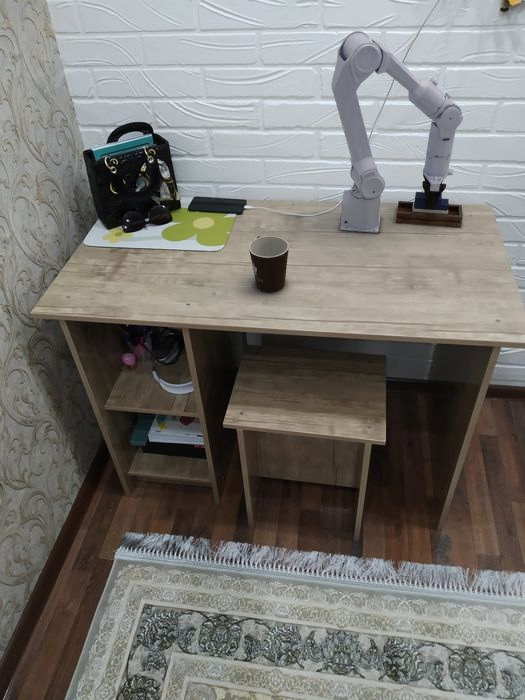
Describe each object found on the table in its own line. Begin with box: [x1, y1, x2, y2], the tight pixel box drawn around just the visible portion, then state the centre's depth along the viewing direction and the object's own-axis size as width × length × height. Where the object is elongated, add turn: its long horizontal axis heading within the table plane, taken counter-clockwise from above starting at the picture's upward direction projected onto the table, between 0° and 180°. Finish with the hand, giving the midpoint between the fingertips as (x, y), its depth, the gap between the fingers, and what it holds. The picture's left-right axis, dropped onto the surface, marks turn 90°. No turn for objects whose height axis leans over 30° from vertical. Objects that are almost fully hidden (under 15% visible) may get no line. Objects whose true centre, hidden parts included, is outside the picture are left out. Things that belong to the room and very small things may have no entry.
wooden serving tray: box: [395, 200, 463, 229], centre depth 147 cm, size 16×8×2 cm, turn 77°
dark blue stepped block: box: [412, 191, 450, 214], centre depth 145 cm, size 9×4×4 cm, turn 77°
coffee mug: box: [248, 235, 290, 294], centre depth 127 cm, size 12×9×10 cm
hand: (430, 204), depth 145 cm, fingers closed on dark blue stepped block, 3 cm apart
